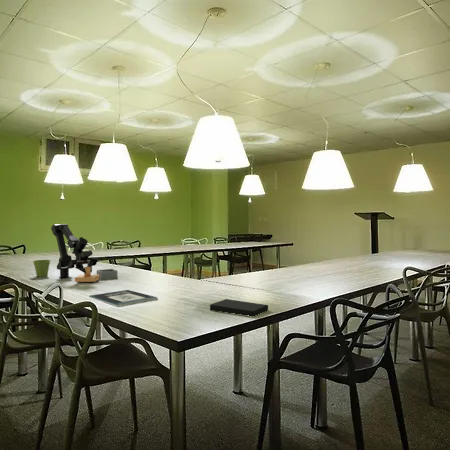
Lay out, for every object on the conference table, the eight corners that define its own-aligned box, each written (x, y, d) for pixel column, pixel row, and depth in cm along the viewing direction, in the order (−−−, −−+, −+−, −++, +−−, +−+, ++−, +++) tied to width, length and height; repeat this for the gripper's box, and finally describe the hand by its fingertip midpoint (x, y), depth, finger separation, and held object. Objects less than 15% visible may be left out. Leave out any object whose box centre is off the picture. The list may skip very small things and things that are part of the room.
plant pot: (30, 276, 281) (29, 260, 280) (46, 274, 289) (46, 259, 289) (37, 278, 273) (36, 262, 272) (53, 276, 282) (53, 260, 281)
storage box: (96, 278, 270) (96, 270, 270) (112, 277, 276) (112, 268, 276) (101, 280, 261) (101, 272, 261) (117, 279, 267) (117, 270, 267)
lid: (80, 278, 260) (80, 265, 260) (99, 278, 261) (99, 265, 261) (74, 281, 248) (74, 268, 247) (94, 281, 249) (94, 268, 248)
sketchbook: (127, 292, 227) (127, 288, 227) (158, 301, 204) (158, 296, 204) (89, 297, 211) (89, 293, 211) (118, 308, 188) (118, 303, 188)
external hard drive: (253, 318, 169) (253, 311, 169) (209, 310, 181) (209, 304, 181) (268, 311, 181) (268, 304, 180) (226, 304, 193) (226, 298, 193)
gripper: (70, 247, 249) (79, 266, 242) (96, 245, 263) (106, 263, 256) (64, 258, 255) (73, 277, 248) (90, 256, 269) (99, 273, 262)
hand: (88, 272), depth 253 cm, fingers closed on lid, 4 cm apart
